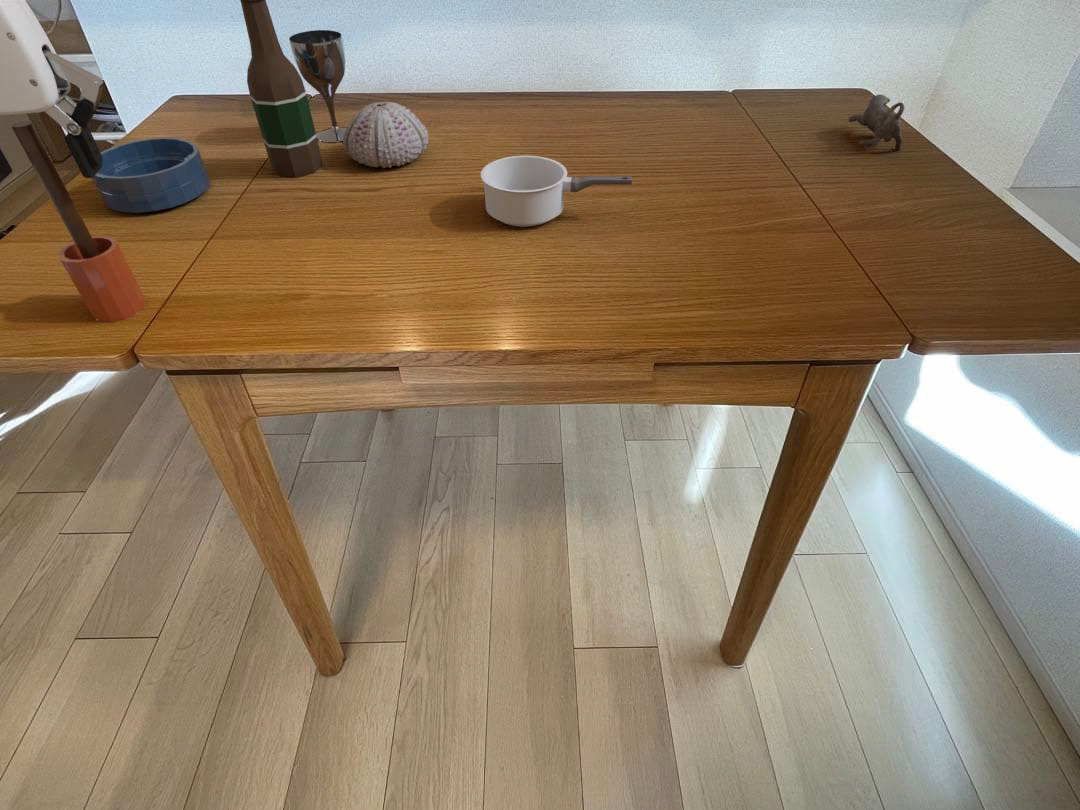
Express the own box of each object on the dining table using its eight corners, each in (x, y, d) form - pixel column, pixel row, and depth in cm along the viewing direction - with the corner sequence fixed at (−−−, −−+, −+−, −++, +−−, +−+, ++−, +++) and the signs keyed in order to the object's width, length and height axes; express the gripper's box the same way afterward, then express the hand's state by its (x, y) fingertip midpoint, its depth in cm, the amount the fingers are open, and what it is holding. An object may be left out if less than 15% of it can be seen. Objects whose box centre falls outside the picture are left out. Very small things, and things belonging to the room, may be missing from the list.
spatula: (103, 312, 72) (-1, 128, 58) (108, 304, 73) (7, 122, 60) (131, 310, 72) (35, 126, 59) (136, 302, 74) (42, 120, 60)
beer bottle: (274, 159, 104) (223, -17, 88) (324, 155, 105) (283, -20, 89) (269, 180, 98) (213, -4, 82) (322, 175, 99) (277, -8, 83)
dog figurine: (905, 155, 103) (924, 105, 98) (868, 155, 103) (885, 106, 98) (877, 127, 112) (893, 80, 107) (843, 127, 112) (857, 80, 107)
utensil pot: (88, 328, 71) (49, 264, 66) (104, 300, 75) (70, 237, 70) (140, 324, 72) (106, 259, 66) (154, 296, 76) (123, 233, 70)
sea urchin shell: (372, 181, 98) (362, 127, 92) (331, 154, 105) (320, 102, 100) (447, 158, 104) (441, 105, 98) (403, 134, 111) (395, 84, 106)
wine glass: (304, 141, 109) (279, 42, 99) (326, 124, 115) (304, 28, 105) (347, 145, 108) (326, 45, 98) (368, 127, 114) (350, 31, 103)
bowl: (91, 220, 89) (71, 181, 86) (123, 177, 100) (107, 140, 96) (199, 212, 91) (184, 174, 87) (220, 170, 101) (207, 134, 97)
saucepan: (626, 238, 84) (630, 198, 81) (475, 229, 86) (472, 189, 83) (630, 199, 93) (633, 160, 89) (492, 191, 95) (489, 153, 91)
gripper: (-230, -32, 47) (-71, 200, 59) (29, -42, 49) (132, 185, 61) (-164, -50, 52) (-31, 166, 64) (67, -58, 54) (154, 153, 66)
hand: (48, 174), depth 62 cm, fingers open, 7 cm apart
